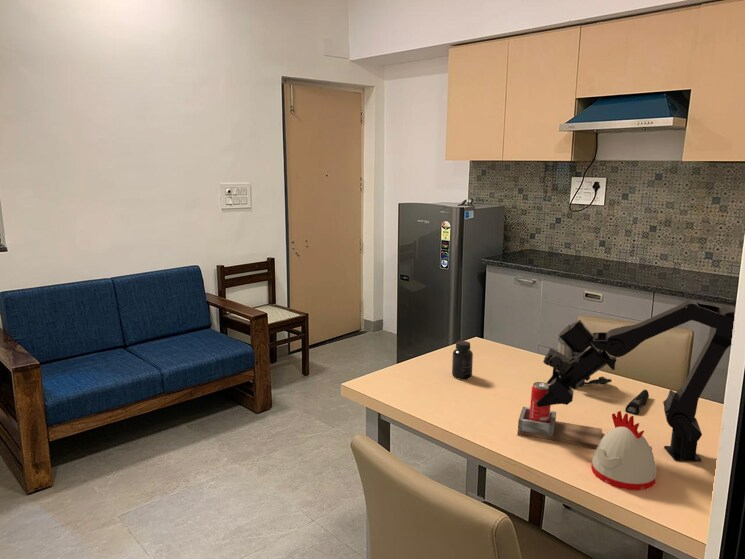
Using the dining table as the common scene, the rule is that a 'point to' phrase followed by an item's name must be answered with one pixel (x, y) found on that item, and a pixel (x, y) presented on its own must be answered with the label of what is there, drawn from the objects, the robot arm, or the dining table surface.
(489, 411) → the dining table surface
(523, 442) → the dining table surface
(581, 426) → the socket board
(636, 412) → the electric trimmer
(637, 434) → the kitchen timer
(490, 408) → the dining table surface
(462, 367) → the supplement bottle
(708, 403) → the dining table surface
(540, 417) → the beverage can
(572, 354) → the milk frother
